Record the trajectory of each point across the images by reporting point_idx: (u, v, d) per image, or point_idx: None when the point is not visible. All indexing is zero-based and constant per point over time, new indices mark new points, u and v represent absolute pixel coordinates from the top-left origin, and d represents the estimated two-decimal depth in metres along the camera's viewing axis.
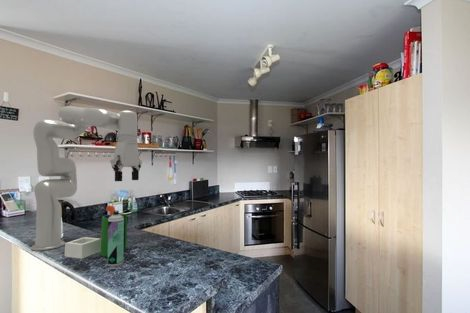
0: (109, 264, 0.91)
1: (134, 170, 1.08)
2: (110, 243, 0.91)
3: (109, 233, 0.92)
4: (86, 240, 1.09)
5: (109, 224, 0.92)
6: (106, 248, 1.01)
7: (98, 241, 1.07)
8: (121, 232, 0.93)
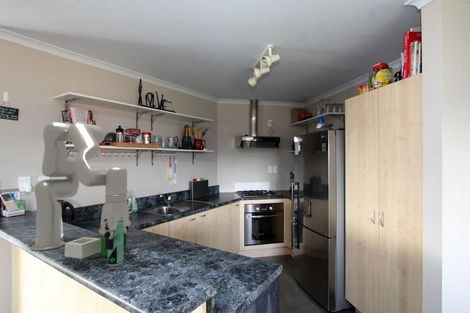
0: (109, 264, 0.91)
1: None
2: None
3: (109, 233, 0.92)
4: (86, 240, 1.09)
5: None
6: None
7: (98, 241, 1.07)
8: (121, 232, 0.93)
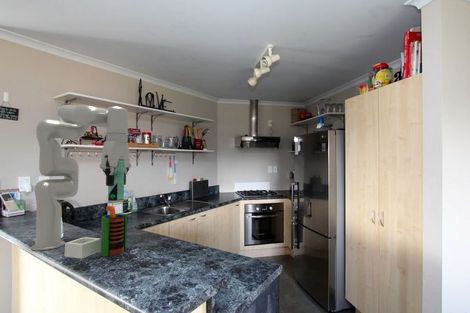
0: (109, 200, 0.92)
1: None
2: None
3: None
4: (86, 240, 1.09)
5: None
6: (106, 248, 1.01)
7: (98, 241, 1.07)
8: (121, 170, 0.94)
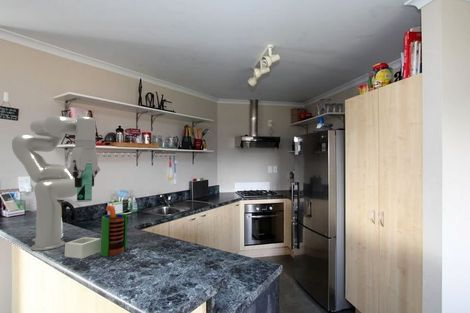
0: (78, 200, 1.04)
1: None
2: None
3: None
4: (86, 240, 1.09)
5: None
6: (106, 248, 1.01)
7: (98, 241, 1.07)
8: (89, 173, 1.06)
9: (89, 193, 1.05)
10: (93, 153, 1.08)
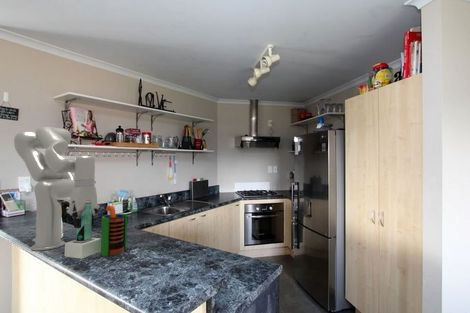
0: (77, 241, 1.03)
1: None
2: None
3: (77, 213, 1.03)
4: None
5: None
6: (106, 248, 1.01)
7: (98, 241, 1.07)
8: (88, 213, 1.05)
9: (89, 233, 1.05)
10: (92, 191, 1.07)
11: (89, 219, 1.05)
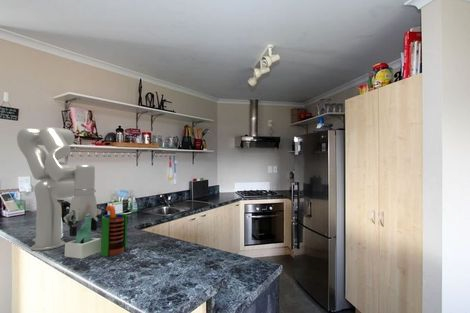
0: None
1: (92, 220, 1.10)
2: (78, 235, 1.03)
3: (77, 226, 1.03)
4: None
5: None
6: (106, 248, 1.01)
7: (98, 241, 1.07)
8: (88, 226, 1.05)
9: None
10: (92, 200, 1.07)
11: (88, 232, 1.05)
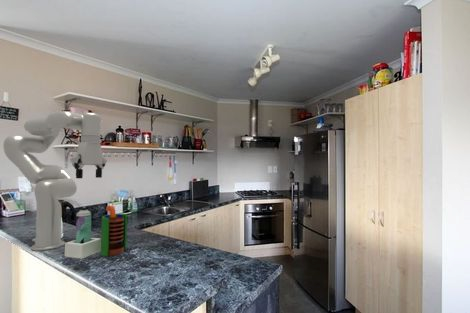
0: None
1: (98, 168, 1.16)
2: (78, 235, 1.03)
3: (77, 226, 1.03)
4: None
5: (77, 218, 1.03)
6: (106, 248, 1.01)
7: (98, 241, 1.07)
8: (88, 226, 1.05)
9: None
10: (98, 148, 1.13)
11: (88, 232, 1.05)
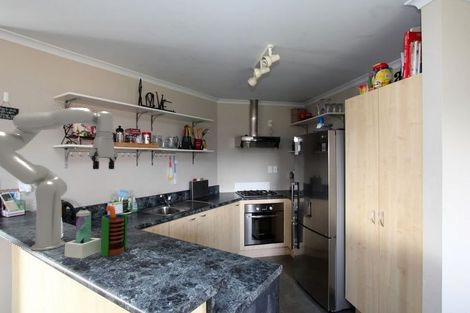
0: None
1: (110, 161, 1.30)
2: (78, 235, 1.03)
3: (77, 226, 1.03)
4: None
5: (77, 218, 1.03)
6: (106, 248, 1.01)
7: (98, 241, 1.07)
8: (88, 226, 1.05)
9: None
10: (111, 142, 1.27)
11: (88, 232, 1.05)
